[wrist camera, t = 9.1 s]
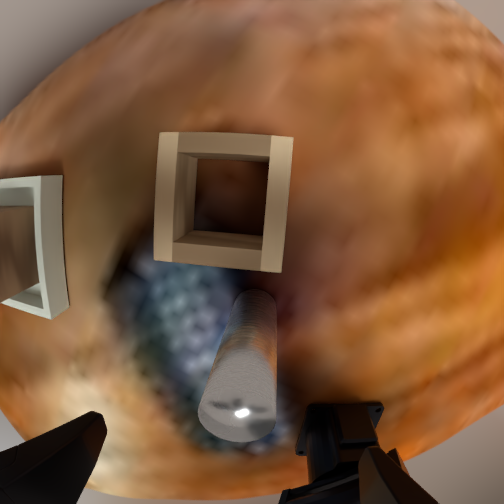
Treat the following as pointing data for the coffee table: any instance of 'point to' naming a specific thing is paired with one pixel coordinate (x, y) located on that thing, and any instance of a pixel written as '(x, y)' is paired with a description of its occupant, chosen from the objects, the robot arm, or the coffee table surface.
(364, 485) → the robot arm
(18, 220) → the walnut block
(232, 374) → the cylinder
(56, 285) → the tray
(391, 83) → the coffee table surface
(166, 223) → the beige square frame
